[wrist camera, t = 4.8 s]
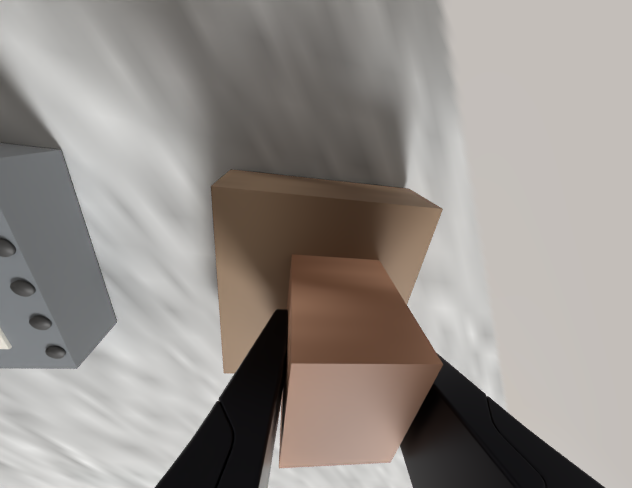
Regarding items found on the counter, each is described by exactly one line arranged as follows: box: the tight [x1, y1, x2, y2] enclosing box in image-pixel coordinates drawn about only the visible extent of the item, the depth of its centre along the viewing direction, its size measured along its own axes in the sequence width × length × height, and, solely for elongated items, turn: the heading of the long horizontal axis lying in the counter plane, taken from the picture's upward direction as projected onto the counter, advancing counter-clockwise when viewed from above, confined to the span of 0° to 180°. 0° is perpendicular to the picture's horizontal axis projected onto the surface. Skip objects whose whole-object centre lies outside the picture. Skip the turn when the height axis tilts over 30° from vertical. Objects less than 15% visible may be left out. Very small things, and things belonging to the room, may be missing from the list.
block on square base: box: [211, 169, 443, 468], centre depth 8 cm, size 7×8×6 cm
